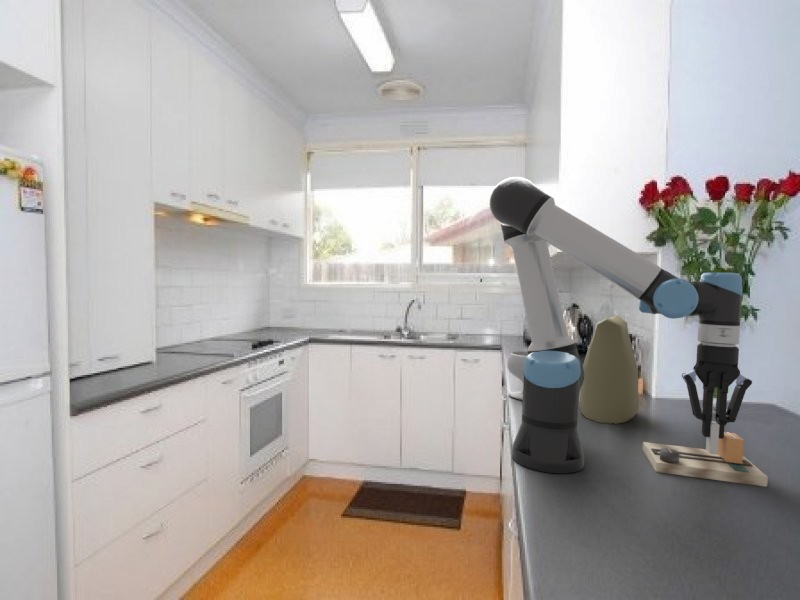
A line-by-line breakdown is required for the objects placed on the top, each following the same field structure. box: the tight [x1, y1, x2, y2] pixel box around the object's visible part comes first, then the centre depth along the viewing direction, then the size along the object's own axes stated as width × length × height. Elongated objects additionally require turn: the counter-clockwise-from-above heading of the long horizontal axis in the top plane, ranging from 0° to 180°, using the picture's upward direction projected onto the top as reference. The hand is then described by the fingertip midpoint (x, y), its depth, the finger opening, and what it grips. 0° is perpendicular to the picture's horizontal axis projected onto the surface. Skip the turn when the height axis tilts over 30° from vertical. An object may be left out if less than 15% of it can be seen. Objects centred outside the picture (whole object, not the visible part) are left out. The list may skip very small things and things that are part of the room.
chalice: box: [506, 350, 528, 401], centre depth 164 cm, size 14×14×15 cm
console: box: [642, 441, 769, 488], centre depth 105 cm, size 20×14×4 cm
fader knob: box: [718, 431, 745, 464], centre depth 104 cm, size 3×5×5 cm, turn 163°
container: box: [578, 314, 639, 425], centre depth 146 cm, size 24×17×30 cm
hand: (711, 452), depth 105 cm, fingers closed
